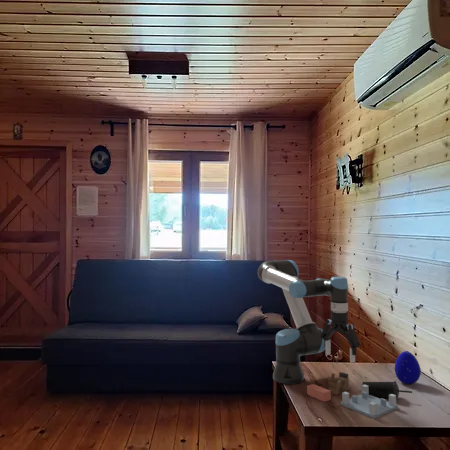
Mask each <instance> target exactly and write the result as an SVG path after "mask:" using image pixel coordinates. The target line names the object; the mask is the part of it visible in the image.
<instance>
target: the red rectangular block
mask: <svg viewBox="0 0 450 450" xmlns="http://www.w3.org/2000/svg"><path fill="white" fill-rule="evenodd" d="M306 393H307V394H308V396H309V395H310V397H312V398H314V397H315V398H314V399H316V398H317V400H319V401H321V402H323V401H324V403H326V402H328V401H332V393H331V391H330V390H329V389H327V388H324V387H323V386H319V385H317V384H315V383H312V384H309V385H307V386H306ZM307 394H306V395H307ZM325 401H326V402H325Z"/></svg>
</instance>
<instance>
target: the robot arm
mask: <svg viewBox="0 0 450 450" xmlns="http://www.w3.org/2000/svg"><path fill="white" fill-rule="evenodd" d="M299 272H300V271H299V267H298V264H297V263H296V262H295V261H294V260H291V259H281V260H278V259H277V260H266V261H263V262H262V263H261V264H260V265H259V267H258V268H257V276H258V279H259V280H260V281H262V282H264V283H266V284H269V285H270V284H272V285H275V286H277V287H279V288H281V289H282V292H283V295H284V297H285V300H286V303H287V305H288V308H289V311H290V313H291V314H290V315H292V319H293V321H294V324H295V326H296V328H284V329H281V330H280V331H278V332H276V334H275V343H274V344H275V356H276V357H275V358H276V359H275V362H276V363H275V366H274V369H273V370H274V371H273V373H272V380H273V381H275V382H276V383H279V384H284V385H296V384H300V383H303V382H304V381H305V374H304V371H303V368H302V365H301V357H303V356H309V355H316V354H319V353H322V352H325V356H329V355H331V354H332V353H331V351H332V349H331V348H332V347H331V344H332V343H331V339H330V338H331V337H332V336H333V335H334V334H335V333H336V332H337V333H342V335H343V336H344V337H345V339H346V341H347V342H348V344H349V346H350V347H349V363H352V364H353V363H355V362H356V355H357V348H360V347H361V342H360V340H359V338H358V335H357V333H356V330H355V325H354V324H353V323H351V324H349V323H348V320H349V313H348V312H349V296H348V295H349V294H348V293H349V292H348V291H349V284H348V278H346V277H345V276H331V278H330V279H327V278H324V277H322V278H320V277H319V278H318V277H317V278H316V279H311V280H310V279H309V280H304V279H301V278H299V276H300V273H299ZM319 296H321V297H322V296H327V297H330V311H331V312H330V318H329V319H326V320H325V325H324V327H323V329H322V328H319V327H318V324H317V323H316V322H315V321H313V320H312V318H311V315H310V312H309V310H308V307H307V305H306V302H305V300H304V298H309V297H319Z"/></svg>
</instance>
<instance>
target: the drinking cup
mask: <svg viewBox="0 0 450 450" xmlns="http://www.w3.org/2000/svg"><path fill="white" fill-rule="evenodd" d="M361 383H362V384H361V386H362V385H364V384H365V385H368V387H369V395H371V396H374V397H378V398H380V397H381V398H383V399H385V398H386V399H389V395H390V394H394V395H396V401H397V400H398V398H399V396H400V393H408V394H413V390H401V389H400V388H399V385H398V383H397V382H396V381H362V382H361Z"/></svg>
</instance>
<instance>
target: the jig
mask: <svg viewBox="0 0 450 450" xmlns="http://www.w3.org/2000/svg"><path fill="white" fill-rule="evenodd" d="M341 396H342V397H341V398H342V399H341V400H342V401H341V402H340V406H342V407H345V408H348V409H350V410H353V411H355V412H357V413H359V414H361V415H365V416H367V417H368V418H371V419H374V420H375V419H377V418H380V417H382V416H384V415H385V414H387V413H390V412H392V411H395V410H397V409H399V405H398V404H397V400H396V395H394V394H390V395H389V398H388V401H387V398H386V399H385V398H384V397H381V398H380V397H378V396H374V395H369V387H368V385H365V384H364V385H362V384H361V394H359V395H351V398H350V393H349V392H347V391H343V392H341Z"/></svg>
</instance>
